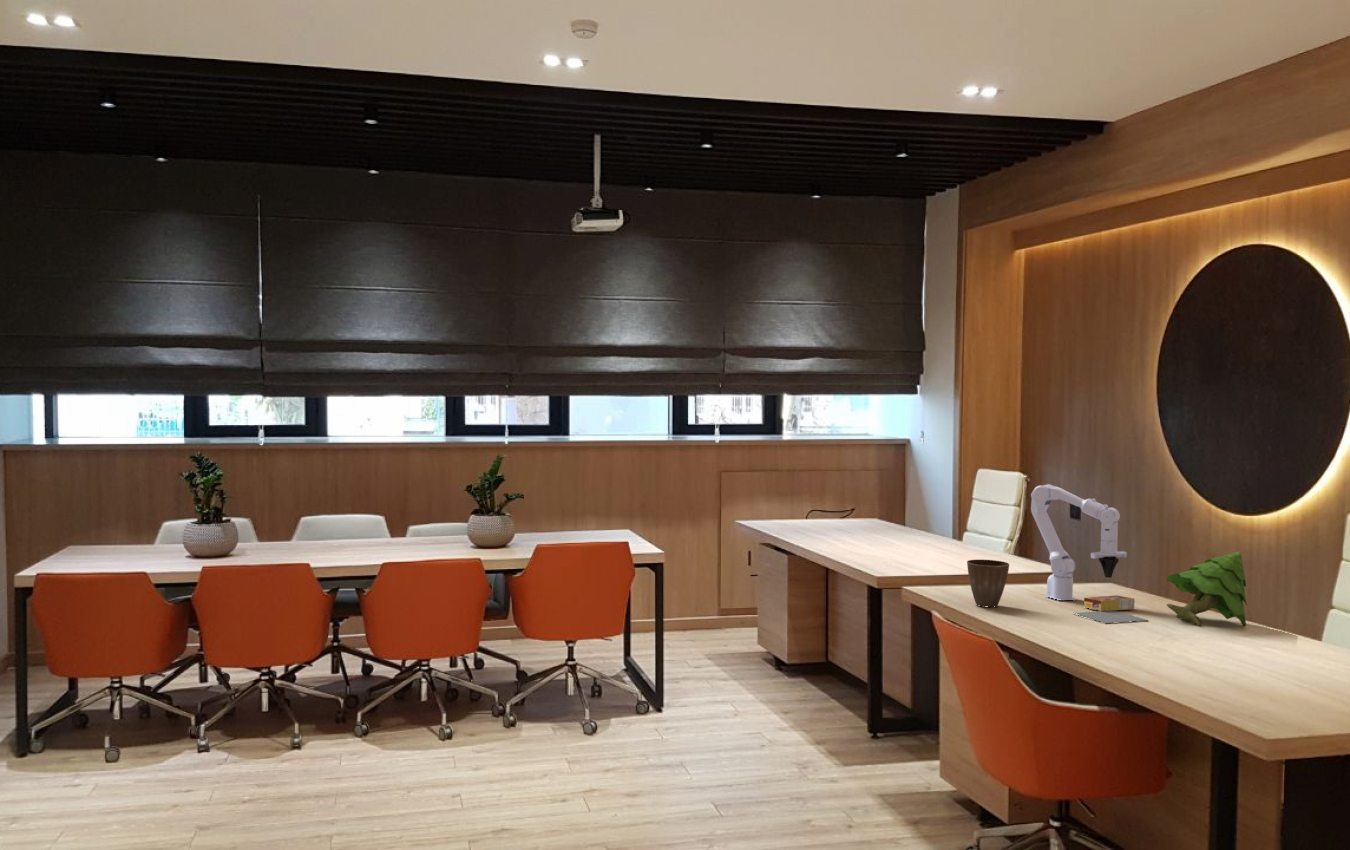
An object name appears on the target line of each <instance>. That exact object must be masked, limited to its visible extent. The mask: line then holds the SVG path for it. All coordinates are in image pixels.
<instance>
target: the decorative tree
mask: <svg viewBox="0 0 1350 850" xmlns="http://www.w3.org/2000/svg"><path fill="white" fill-rule="evenodd" d="M1166 580H1167V582H1170V583H1172V584H1174V585H1175V586H1176V588H1177V589H1178V590H1179V591H1180V592H1184V593H1187V592H1188V593H1189V594H1191V595H1194V596H1193V598H1192V600H1191V601H1190V602H1188V603H1187V604H1186V605H1184V606H1181V605H1175V604H1173V603H1166V606H1167V607H1168V609H1170V610H1172V611H1173V612H1174V613H1175V614H1176V615H1175V617H1176V618H1177V619H1180V618H1181V620H1183V621H1186V622H1189V623H1195V624H1196V625H1197V626H1198V627H1202V622H1201V619H1200V617H1199V616H1198V614H1201V613H1205V612H1207V611H1209V610H1211V609H1214V610H1217V611H1218V612H1219V613H1220V614H1221V615H1222V616H1223V617H1224V618H1225V619H1226V620H1229V619H1232V618H1234V617H1236V618H1237V619H1238V620H1239V622H1240V623H1241V626H1243V627H1245V628H1246V627H1247V620H1246V614H1245V610H1244V609H1245V608H1244V604H1245V605H1246V607H1247V606H1248V604H1247V599H1246V593H1245V587H1247V583H1246V575H1245V570H1244V563H1243V557H1242V552H1241V550H1240V551H1236V552H1232V553H1228V554H1226V555H1221V556H1218V557H1213V558H1209V559H1206V560H1205V561H1204V562H1203V563H1200V564H1196V565H1193V566H1190V567H1189V569H1188V570H1185V571H1182V572H1177V573H1176V572H1175V573H1173V574H1170V575H1168V577H1166Z"/></svg>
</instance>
